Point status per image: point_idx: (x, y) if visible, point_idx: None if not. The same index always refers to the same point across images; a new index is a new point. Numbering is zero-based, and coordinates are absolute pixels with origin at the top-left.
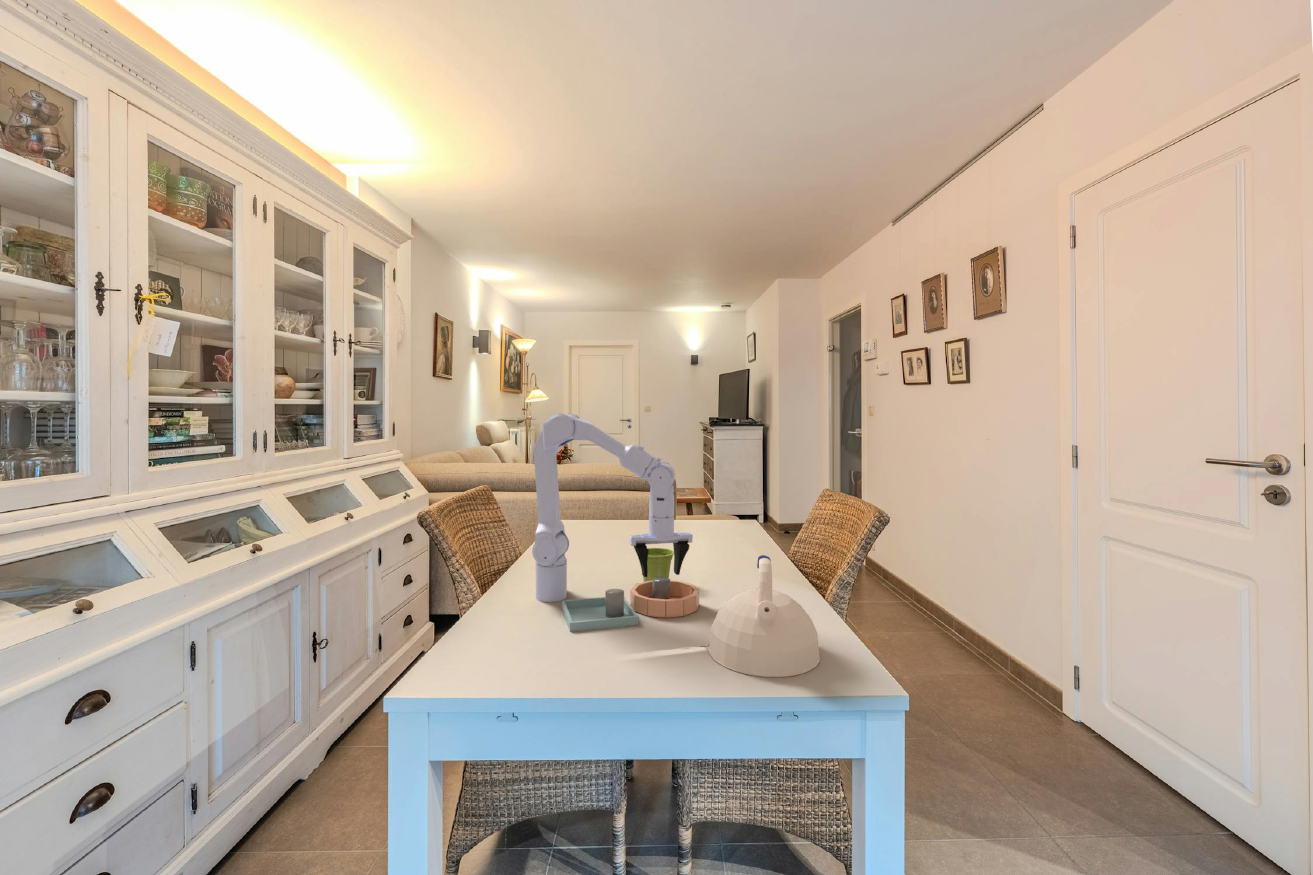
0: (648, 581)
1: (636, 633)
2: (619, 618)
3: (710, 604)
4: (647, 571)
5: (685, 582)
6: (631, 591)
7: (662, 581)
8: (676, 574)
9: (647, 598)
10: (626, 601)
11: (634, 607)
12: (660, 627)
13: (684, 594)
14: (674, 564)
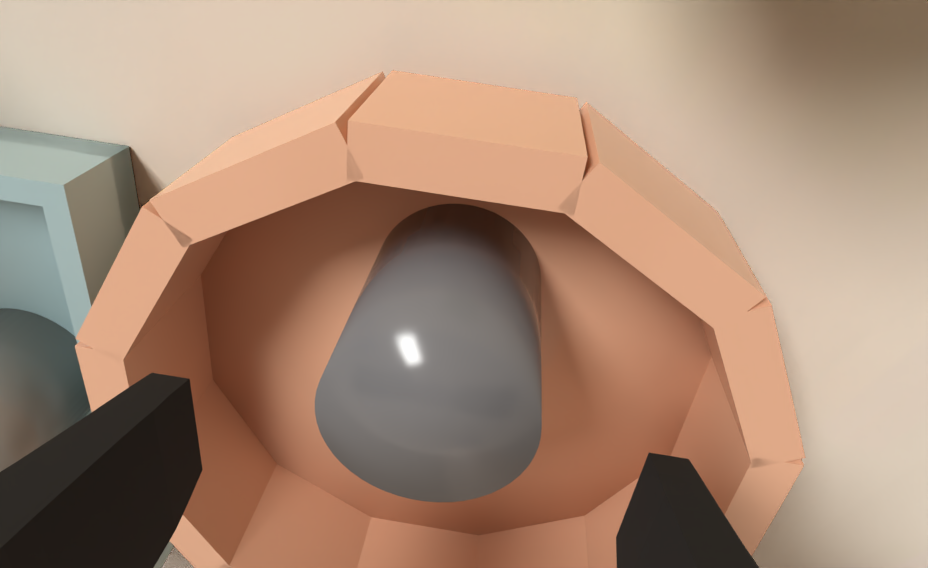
0: (344, 152)
1: (172, 552)
2: None
3: (861, 395)
4: (162, 550)
5: (781, 373)
6: (86, 383)
7: (409, 479)
8: (619, 530)
9: (207, 564)
10: None
11: None
12: None
13: (706, 329)
14: (678, 562)
